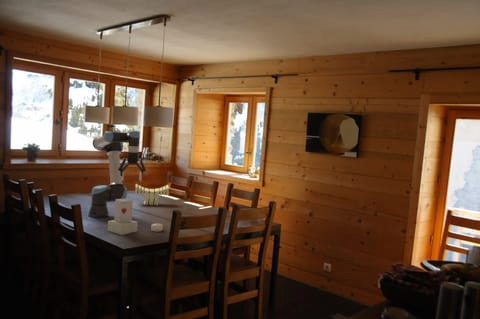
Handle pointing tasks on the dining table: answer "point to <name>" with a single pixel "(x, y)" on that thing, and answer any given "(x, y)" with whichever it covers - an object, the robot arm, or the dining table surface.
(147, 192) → the slatted curved stool
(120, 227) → the pedestal box
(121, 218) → the supplement box
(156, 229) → the beige round lump
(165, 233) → the dining table surface
